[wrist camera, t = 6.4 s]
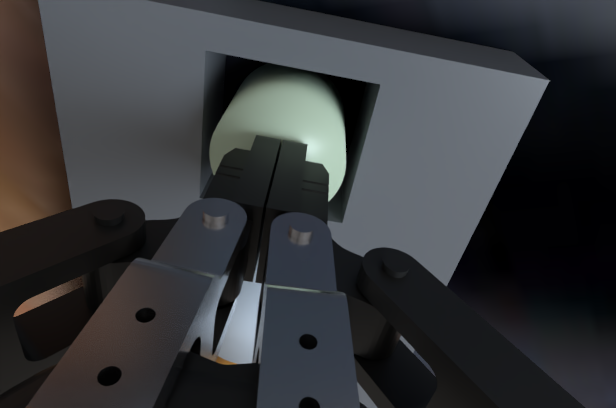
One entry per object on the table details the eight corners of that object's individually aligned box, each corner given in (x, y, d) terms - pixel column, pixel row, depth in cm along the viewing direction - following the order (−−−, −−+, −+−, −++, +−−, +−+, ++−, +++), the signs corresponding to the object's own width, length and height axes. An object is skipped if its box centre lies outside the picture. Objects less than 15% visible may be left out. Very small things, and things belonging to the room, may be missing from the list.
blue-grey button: (220, 220, 17) (196, 283, 14) (318, 238, 17) (315, 303, 14) (215, 291, 19) (193, 357, 16) (302, 305, 20) (296, 373, 17)
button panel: (89, -34, 14) (34, -23, 11) (512, 51, 14) (549, 80, 12) (127, 354, 25) (104, 403, 22) (364, 392, 25) (367, 443, 23)
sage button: (238, 49, 14) (212, 83, 11) (356, 72, 14) (360, 112, 12) (229, 155, 16) (206, 206, 14) (331, 173, 17) (330, 228, 14)
